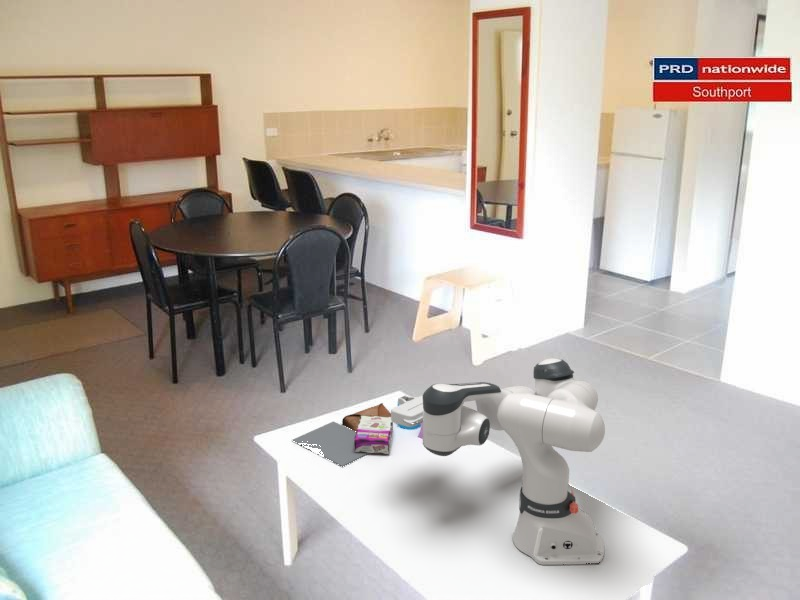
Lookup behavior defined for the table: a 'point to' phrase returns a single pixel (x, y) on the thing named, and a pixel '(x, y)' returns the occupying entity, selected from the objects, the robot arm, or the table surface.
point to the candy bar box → (373, 435)
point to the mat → (333, 443)
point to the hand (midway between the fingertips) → (401, 399)
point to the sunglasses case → (353, 419)
